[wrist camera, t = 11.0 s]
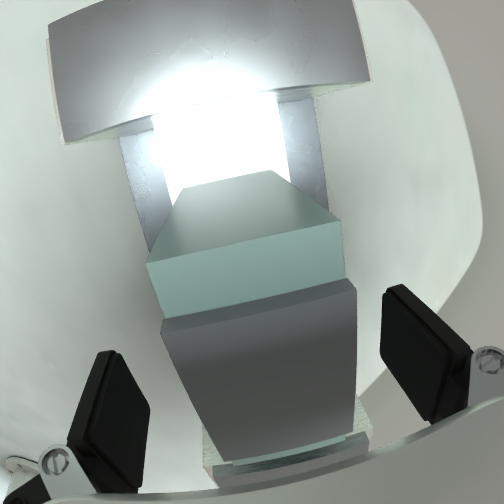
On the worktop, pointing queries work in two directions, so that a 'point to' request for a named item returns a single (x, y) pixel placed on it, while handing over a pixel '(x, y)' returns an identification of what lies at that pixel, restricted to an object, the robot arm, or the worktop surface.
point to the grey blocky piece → (210, 117)
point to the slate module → (258, 315)
